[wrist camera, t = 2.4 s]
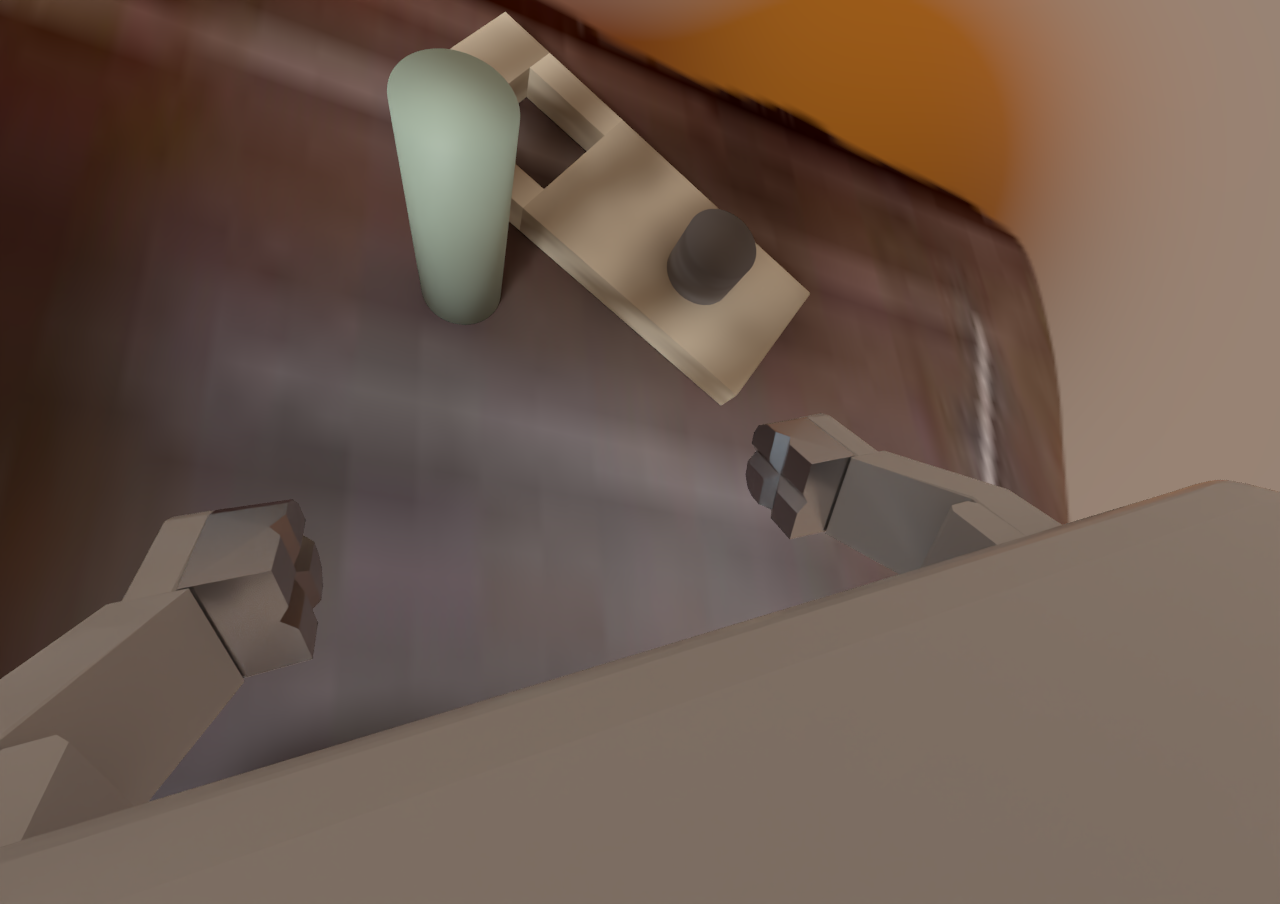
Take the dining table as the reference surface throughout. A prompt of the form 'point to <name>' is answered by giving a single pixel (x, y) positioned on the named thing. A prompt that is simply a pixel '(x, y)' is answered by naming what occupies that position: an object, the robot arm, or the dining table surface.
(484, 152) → the peg
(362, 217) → the dining table surface
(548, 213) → the hole plate
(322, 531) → the dining table surface
